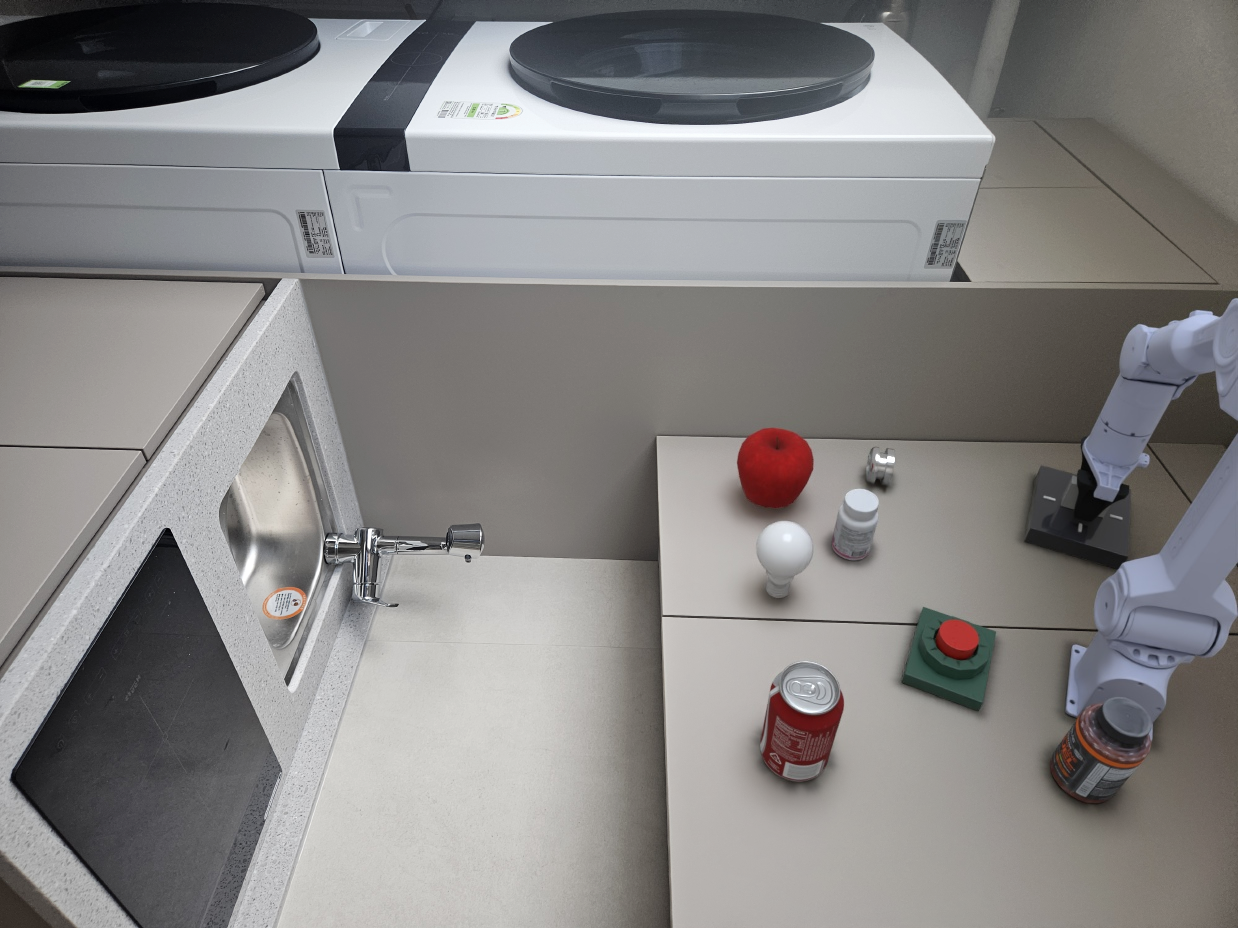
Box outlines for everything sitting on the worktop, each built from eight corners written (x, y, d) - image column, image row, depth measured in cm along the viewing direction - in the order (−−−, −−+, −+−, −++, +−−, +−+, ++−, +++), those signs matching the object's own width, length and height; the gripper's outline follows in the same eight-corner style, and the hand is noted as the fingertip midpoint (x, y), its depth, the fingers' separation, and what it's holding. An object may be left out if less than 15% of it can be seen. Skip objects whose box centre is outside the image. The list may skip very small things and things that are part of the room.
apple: (747, 530, 104) (755, 468, 97) (722, 481, 111) (728, 420, 104) (818, 516, 106) (831, 454, 98) (789, 469, 113) (800, 408, 105)
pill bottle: (837, 528, 104) (849, 481, 98) (874, 541, 102) (887, 494, 97) (825, 552, 101) (836, 505, 95) (862, 566, 99) (876, 519, 94)
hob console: (1120, 570, 98) (1128, 555, 96) (1024, 541, 102) (1030, 526, 100) (1123, 502, 107) (1131, 488, 105) (1034, 478, 110) (1041, 464, 109)
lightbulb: (784, 622, 93) (796, 560, 86) (739, 594, 96) (747, 531, 89) (813, 590, 97) (828, 527, 89) (770, 564, 100) (780, 501, 92)
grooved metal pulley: (887, 493, 109) (895, 465, 105) (864, 489, 109) (871, 462, 106) (887, 468, 112) (894, 441, 109) (865, 465, 113) (872, 438, 110)
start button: (971, 665, 85) (975, 655, 84) (932, 651, 86) (936, 641, 85) (977, 637, 87) (981, 627, 86) (939, 624, 89) (943, 614, 88)
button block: (978, 711, 84) (988, 692, 82) (901, 682, 87) (908, 663, 85) (992, 640, 91) (1001, 621, 89) (919, 615, 94) (926, 596, 91)
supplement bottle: (1040, 745, 81) (1081, 682, 74) (1101, 750, 81) (1149, 687, 73) (1058, 803, 77) (1104, 742, 69) (1123, 808, 76) (1177, 748, 69)
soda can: (827, 790, 78) (848, 725, 70) (757, 778, 79) (770, 713, 71) (826, 727, 83) (846, 660, 75) (760, 717, 84) (773, 650, 76)
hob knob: (1060, 505, 103) (1072, 481, 100) (1061, 497, 104) (1073, 473, 101) (1103, 517, 101) (1116, 493, 98) (1104, 509, 102) (1117, 485, 99)
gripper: (1166, 469, 87) (1116, 553, 96) (1165, 396, 97) (1120, 478, 106) (1094, 451, 89) (1052, 534, 98) (1101, 381, 99) (1062, 463, 108)
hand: (1083, 504), depth 102 cm, fingers open, 5 cm apart
